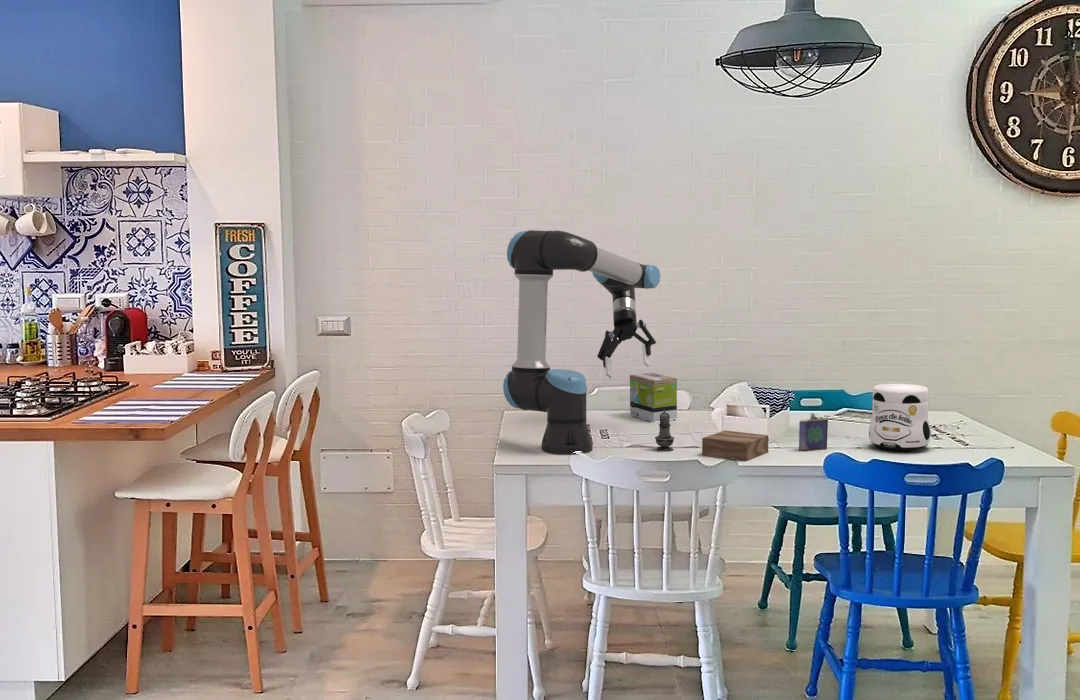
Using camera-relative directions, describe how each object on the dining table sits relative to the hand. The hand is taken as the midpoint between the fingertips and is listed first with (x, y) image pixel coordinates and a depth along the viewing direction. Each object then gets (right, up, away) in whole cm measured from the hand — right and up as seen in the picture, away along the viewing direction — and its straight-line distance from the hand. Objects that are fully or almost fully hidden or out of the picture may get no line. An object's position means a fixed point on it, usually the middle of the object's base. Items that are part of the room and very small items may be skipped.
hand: (627, 370), depth 354 cm
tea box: (+11, -17, +24) cm, 32 cm away
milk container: (+78, -22, -28) cm, 86 cm away
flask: (+52, -23, -29) cm, 64 cm away
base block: (+28, -23, -34) cm, 50 cm away
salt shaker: (+9, -23, -27) cm, 37 cm away
